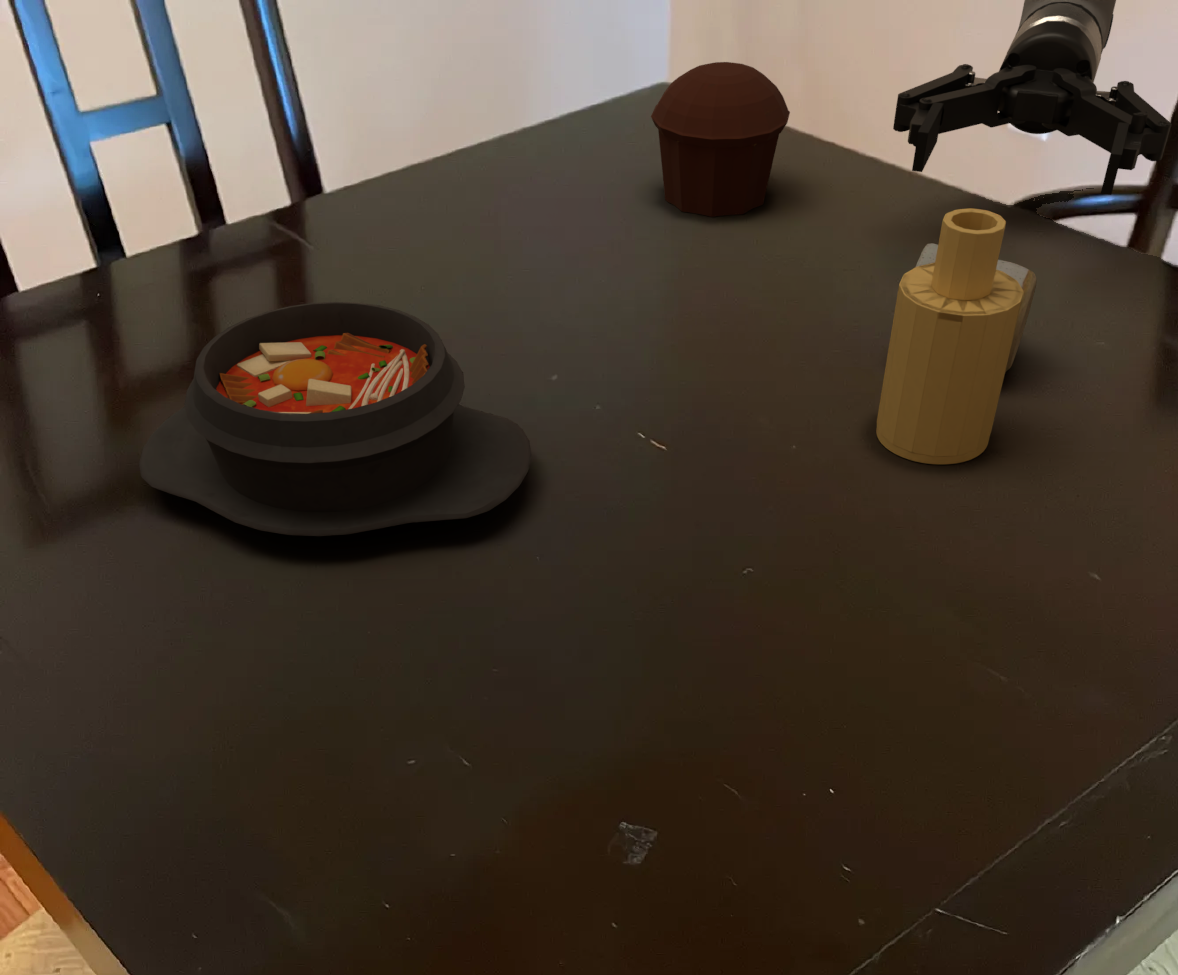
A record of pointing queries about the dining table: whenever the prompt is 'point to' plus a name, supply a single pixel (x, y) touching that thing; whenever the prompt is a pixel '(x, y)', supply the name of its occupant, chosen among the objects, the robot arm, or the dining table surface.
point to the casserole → (333, 426)
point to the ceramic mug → (1016, 272)
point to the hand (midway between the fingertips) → (1013, 163)
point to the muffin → (719, 138)
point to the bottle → (950, 345)
